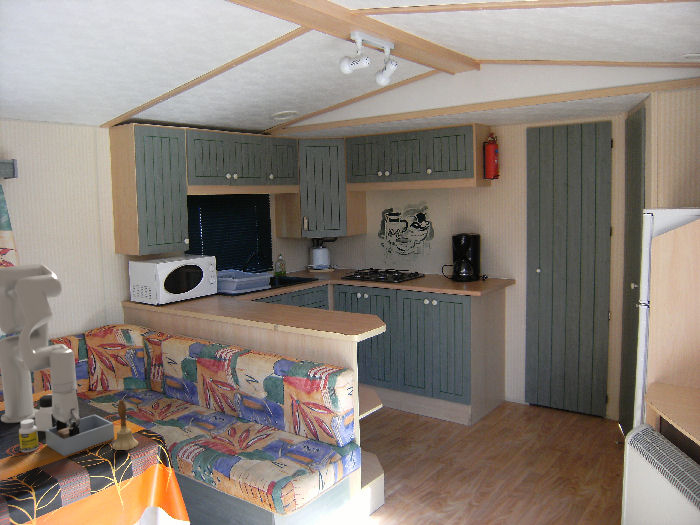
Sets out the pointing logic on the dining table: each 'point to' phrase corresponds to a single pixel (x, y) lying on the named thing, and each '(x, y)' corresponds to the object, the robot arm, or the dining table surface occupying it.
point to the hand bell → (124, 432)
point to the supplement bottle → (28, 436)
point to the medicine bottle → (45, 414)
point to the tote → (81, 435)
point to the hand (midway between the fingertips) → (68, 435)
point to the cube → (63, 433)
